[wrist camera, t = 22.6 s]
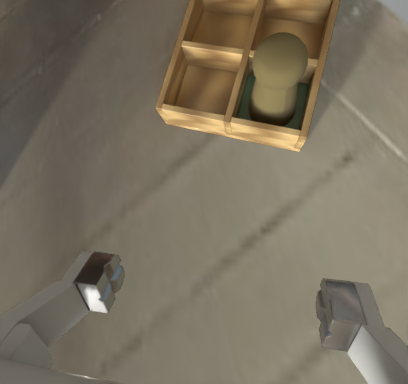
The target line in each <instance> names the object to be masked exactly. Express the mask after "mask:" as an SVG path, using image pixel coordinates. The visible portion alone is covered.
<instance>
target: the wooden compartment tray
mask: <svg viewBox="0 0 408 384" xmlns="http://www.w3.org/2000/svg"><path fill="white" fill-rule="evenodd" d="M339 3H340V0H190V1H189V4H188V7H187V10H186V13H185V17H184V20H183V23H182V26H181V29H180V32H179V35H178V38H177V42H176V45H175V48H174V51H173V54H172V57H171V60H170V64H169V67H168V70H167V73H166V76H165V79H164V82H163V86H162V89H161V92H160V95H159V98H158V101H157V104H156V107H155V108H156V110H157V111H158V112H159V114H160V115H161V117H162V118H163V119H164V121H165V122H166V124H170V125H174V126H179V127H184V128H189V129H194V130H198V131H203V132H208V133H213V134H217V135H222V136H227V137H232V138H237V139H241V140H246V141H251V142H256V143H261V144H265V145H270V146H275V147H280V148H284V149H289V150H294V151H300V150H301V148H302V146H303V144H304V142H305V141H306V139H307V136H308V132H309V128H310V123H311V119H312V115H313V111H314V107H315V103H316V98H317V94H318V90H319V86H320V82H321V78H322V74H323V69H324V65H325V61H326V57H327V53H328V49H329V44H330V40H331V36H332V32H333V28H334V24H335V20H336V15H337V11H338V7H339ZM278 32H287V33H291V34H294V35H296V36H297V37H299V38H300V39H301V40H302V42H303V43H304V44H305V45H306V48H307V51H308V64H307V67H306V70H305V72H304V74H303V76H302V77H301V78H300V79H299V80H298V84H297V100H296V112H295V114H294V116H293V118H292V119H291V120H290V122H289V123H288V124H286V125H284V126H283V127H281V126H276V125H271V124H266V123H261V122H255V121H253V120H252V118H251V117H250V114H249V110H248V109H249V101H250V98H251V94H252V90H253V86H254V83H255V79H256V78H255V75H254V72H253V68H252V63H253V55H254V53H255V51H256V48H257V46H258V45H259V44H260V43H261V42H262V41H263V40H264V39H265V38H267V37H268V36H270V35H272V34H275V33H278Z"/></svg>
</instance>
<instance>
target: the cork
mask: <svg viewBox="0 0 408 384" xmlns="http://www.w3.org/2000/svg"><path fill="white" fill-rule="evenodd" d="M307 64H308V51H307V48H306V45H305V44H304V43H303V42H302V40H301V39H300V38H299V37H297V36H296V35H294V34H291V33H287V32H278V33H275V34H272V35H270V36H268V37H267V38H265V39H264V40H263V41H262V42H261V43H260V44H259V45H258V46H257V48H256V51H255V53H254V55H253V63H252V68H253V72H254V75H255V78H256V79H255V83H254V86H253V90H252V94H251V98H250V101H249V109H248V110H249V114H250V117H251V118H252V120H253V121H255V122H261V123H266V124H271V125H276V126H281V127H283V126H284V125H286V124H288V123H289V122H290V120H291V119H292V118H293V116H294V114H295V112H296V100H297V84H298V80H299V79H300V78H301V77H302V76H303V74H304V72H305V70H306V67H307Z"/></svg>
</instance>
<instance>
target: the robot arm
mask: <svg viewBox="0 0 408 384" xmlns="http://www.w3.org/2000/svg"><path fill="white" fill-rule="evenodd" d="M120 261H121V259H120V257H119V255H115V254H108V253H102V252H95V251H87V250H84V251H83V252H81V253H80V254H79V256H78V257H77V259H76V260H75V261H74V263H73V264H72V266H71V267H70V268H69V270H68V271H67V272H66V274H65V275H64V277H63V278H62V279H61V281H56V282H54V283H53V284H51V285H50V286H48V287H46V288H45V289H43V290H41V291H40V292H38V293H36V294H35V295H33V296H32V297H30V298H28V299H27V300H25V301H23V302H22V303H20V304H18V305H17V306H15V307H13V308H12V309H10V310H9V311H7V312H5V313H4V314H2V315H0V384H122V383H117V382H112V381H108V380H103V379H98V378H93V377H88V376H83V375H78V374H73V373H68V372H63V371H59V370H54V369H50V367H51V366H52V364H53V362H54V360H55V358H54V355H53V354H52V352H51V351H50V350H49V349H48V347H49V346H51V345H52V344H53V343H54V342H55V341H56V340H58V339H59V338H60V337H61V336H62V335H63V334H64V333H66V332H67V331H68V330H69V329H70V328H71V327H72V326H74V325H75V324H76V323H77V322H78V321H79V320H81V319H82V318H83V317H84V316H85V315H86V314H87V313H89V311H95V312H103V313H109V311H110V309H111V307H112V305H113V303H114V301H115V294H114V293H116V292H117V291H118V290H120V288H121V286H122V284H123V281H124V277H125V275H124V268H123V267H122V266H121V265H120V264H119V263H120ZM320 286H321V290H320V291H318V293H317V297H316V313H317V318H318V319H319V320H320V321H321V324H320V327H319V332H320V339H321V345H322V347H325V348H330V349H335V350H341V351H346V352H347V354H348V355H349V356H350V358H351V359H352V361H353V362H354V364H355V365H356V366H357V368H358V369H359V371H360V372H361V374H362V375H363V376H364V378H365V379H366V381H367V382H368V384H408V346H407V345H406V344H405V343H404V342H403V341H402V340H401V339H400V338H399V337H398V336H397V335H396V334H395V333H394V332H393V331H392V330H391V329H390V328H386V327H385V326H384V323H383V321H382V318H381V315H380V312H379V310H378V307H377V304H376V301H375V299H374V296H373V293H372V290H371V288H370V286H369V285H368V284H367V283H359V282H351V281H343V280H334V279H324V278H323V279H322V281H321V284H320Z"/></svg>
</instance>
